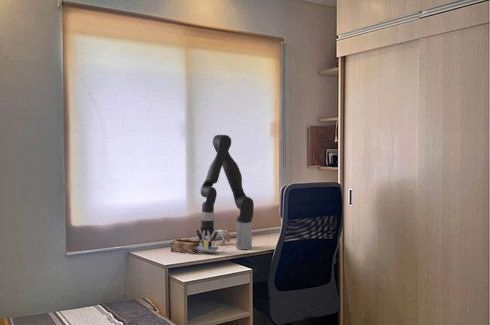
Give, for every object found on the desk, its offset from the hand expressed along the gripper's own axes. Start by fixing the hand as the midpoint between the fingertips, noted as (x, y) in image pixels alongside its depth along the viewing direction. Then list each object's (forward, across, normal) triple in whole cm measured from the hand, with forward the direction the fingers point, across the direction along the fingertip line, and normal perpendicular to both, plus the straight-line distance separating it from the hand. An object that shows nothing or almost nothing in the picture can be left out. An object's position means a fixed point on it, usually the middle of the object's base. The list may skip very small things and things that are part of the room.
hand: (206, 246), depth 302 cm
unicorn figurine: (+4, 0, -18) cm, 18 cm away
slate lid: (+1, 0, 0) cm, 1 cm away
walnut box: (+4, +14, 0) cm, 14 cm away
